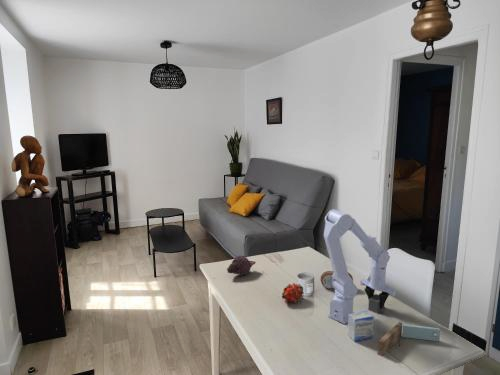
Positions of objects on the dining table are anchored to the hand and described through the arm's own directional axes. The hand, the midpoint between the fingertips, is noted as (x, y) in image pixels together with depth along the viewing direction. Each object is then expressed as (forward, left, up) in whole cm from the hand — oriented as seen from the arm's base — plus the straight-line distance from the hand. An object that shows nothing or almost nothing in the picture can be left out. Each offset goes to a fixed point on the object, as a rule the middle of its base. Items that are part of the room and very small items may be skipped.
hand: (376, 305), depth 144 cm
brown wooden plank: (-19, -15, -1) cm, 24 cm away
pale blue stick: (-8, -21, -1) cm, 23 cm away
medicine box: (-22, -5, -2) cm, 23 cm away
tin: (+4, +22, -2) cm, 22 cm away
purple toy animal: (-18, +66, -2) cm, 68 cm away
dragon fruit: (-20, +29, -2) cm, 35 cm away
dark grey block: (0, 0, -1) cm, 1 cm away
